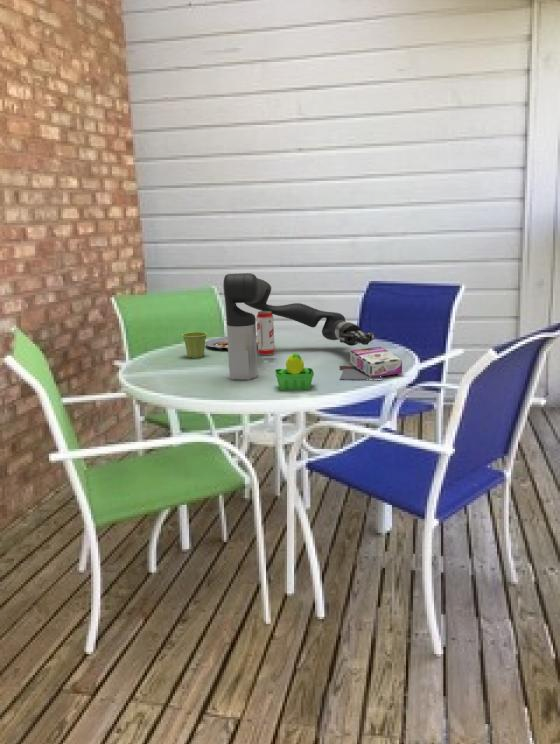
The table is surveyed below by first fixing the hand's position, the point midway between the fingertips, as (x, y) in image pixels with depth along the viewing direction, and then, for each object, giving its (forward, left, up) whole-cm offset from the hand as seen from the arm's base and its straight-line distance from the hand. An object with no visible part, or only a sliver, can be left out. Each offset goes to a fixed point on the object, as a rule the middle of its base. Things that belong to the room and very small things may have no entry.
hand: (366, 341), depth 215 cm
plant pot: (+17, +65, -9) cm, 67 cm away
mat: (-9, +1, -9) cm, 13 cm away
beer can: (+22, +39, -9) cm, 45 cm away
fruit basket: (-26, +20, -9) cm, 34 cm away
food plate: (+39, +55, -9) cm, 68 cm away
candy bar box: (+2, +1, -5) cm, 6 cm away
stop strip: (-2, +1, -9) cm, 9 cm away
